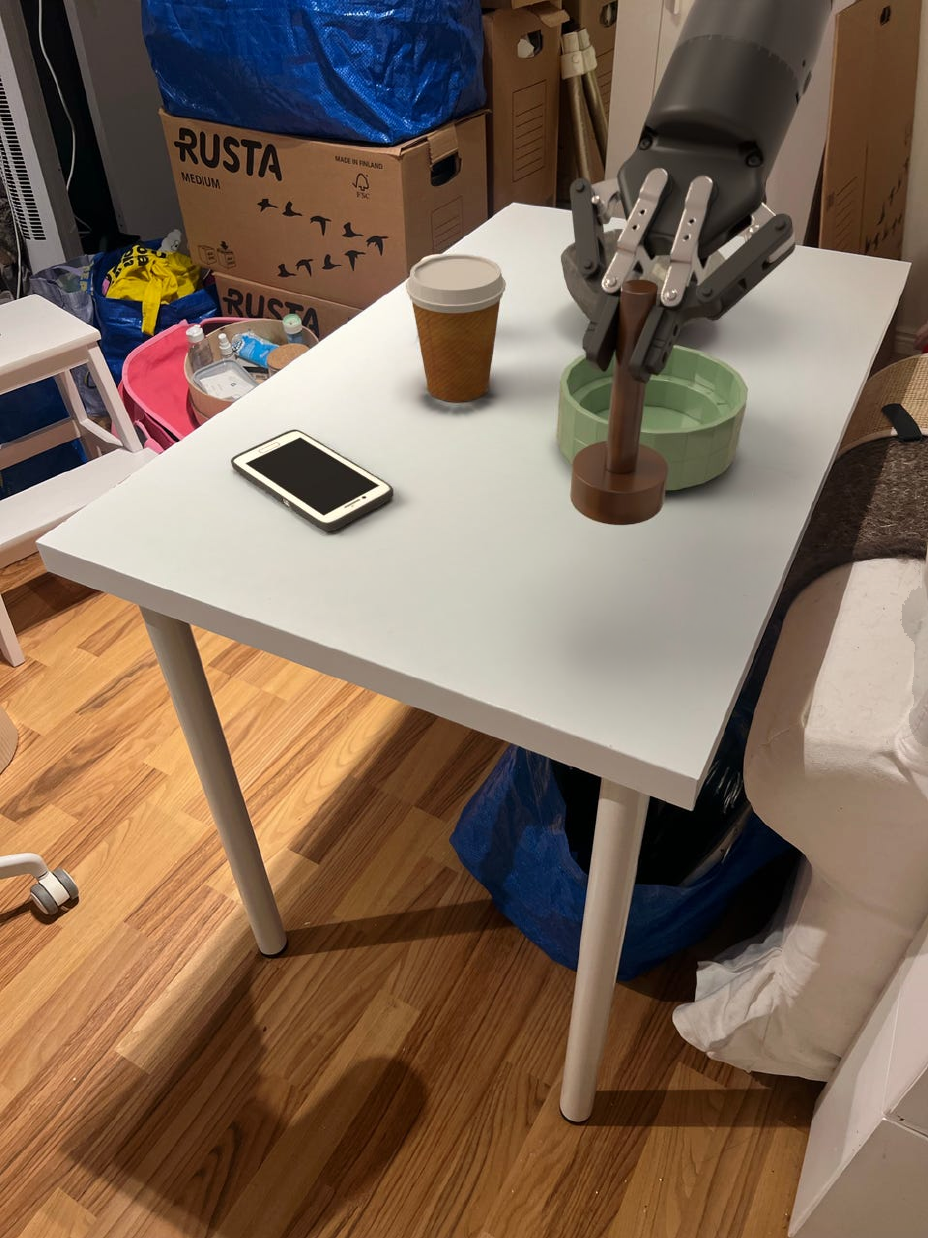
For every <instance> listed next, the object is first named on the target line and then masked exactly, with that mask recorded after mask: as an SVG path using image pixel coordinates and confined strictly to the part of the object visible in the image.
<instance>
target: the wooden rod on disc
mask: <svg viewBox="0 0 928 1238" xmlns="http://www.w3.org/2000/svg"><path fill="white" fill-rule="evenodd" d="M657 296H658V285H657V284H656V283H654V282H652V281H648V280H641V279H635V280H629V281H626V282H624V283H623V284H622V286H621V296H620V306H619V317H618V327H617V338H616V348H615V358H614V369H613V379H612V390H611V400H610V410H609V421H608V431H607V441H602V442H598V443H594V444H591V445H589V446H587V447H585V448H583V449H582V450H580V451H579V452H578V453H577V454H576V456H575V457H574V460H573V463H572V464H571V478H570V479H571V480H570V493H569V494H570V495H569V496H570V502H571V504H572V505H573V507H574V509H575V510H576V511H578V513H580V514H581V515H583V516H584V517H585V518H587V519H589V520H591V521H594V522H597V523H600V524H605V525H609V526H610V525H611V526H630V525H632V526H633V525H638V524H641V523H644V522H647V521H649V520H651V519H653V518H654V517H656V515H658V514H659V513H660V511H661V510H662V509H663V506H664V504H665V503H664V502H665V496H666V491H667V490H666V484H667V477H668V464H667V462H666V460H665V459H664V457H663V456H662V455H661V454H659V453H658V452H657V451H655V450H654V449H652V448H650V447H648V446H645V445H642V444H639V441H640V433H641V425H642V417H643V409H644V401H645V393H646V384H647V383H646V384H645V383H642V382H638V381H634V379H633V378H632V376H631V375H630V374H629V372H628V366H629V362H630V360H631V357H632V355H633V352H634V350H635V347H636V345H637V342H638V340H639V337H640V335H641V332H642V330H643V328H644V325H645V323H646V320H647V318H648V315H649V313H650V310H651V308H652V305H654V306H656V304H657Z"/></svg>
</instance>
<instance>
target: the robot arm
mask: <svg viewBox="0 0 928 1238" xmlns="http://www.w3.org/2000/svg"><path fill="white" fill-rule="evenodd" d="M836 1H837V0H694V1H693V3H692V6H691V7H690V9H689V11H688V14H687V16H686V18H685V20H684V22H683V25H682V28H681V30H680V32H679V35H678V38H677V41H676V43H675V46H674V48H673V51H672V52H671V56H670V58H669V60H668V62H667V65H666V68H665V70H664V73H663V75H662V78H661V81H660V82H659V86H658V88H657V90H656V93H655V95H654V98H653V100H652V102H651V105H650V107H649V110H648V113H647V115H646V117H645V121H644V122H643V125H642V129H641V131H640V136H639V139H638V143H637V146H636V148H635V150H634V151H633V153H632V154H631V156H629V157H628V158H627V160H625V161H624V162H623V163H622V164H621V166H620V168H619V169H618V172H617V174H616V176H614V177H611V178H607V179H604V180H602V181H599V182H595V183H592V184H591V182H590V181H589V179H588V178H587V177H578V178H576V179H574V181H572V183H571V184H570V186H569V195H570V196H569V198H570V204H571V205H570V206H571V216H572V226H573V235H574V237H573V238H574V242H575V247H576V257H577V267H578V271H579V272H580V274H581V275H582V277H583V279H584V280H585V282H586V283H587V285H588V286H589V288H590V290H591V291H592V292H594V293H597V294H599V299H598V302H597V304H596V307H595V309H594V312H593V314H592V317H591V319H589V323H588V324H587V327H586V330H585V331H584V334H583V337H582V341H581V342H582V345H581V349H582V350H583V351H584V353H585V354H586V361H587V362H588V363H589V365H590V366H591V367H592V369H595V370H598V371H602V372H606V370H607V369H608V367H609V365H610V362H611V360H612V357H613V355H614V352H615V348H616V338H617V327H618V317H619V306H620V296H621V286H622V284H623V283H624V282H626V281H629V280H635V279H641V280H644V278H645V277H648V276H649V275H650V274H651V272H652V270H653V268H654V266H655V264H656V262H657V260H658V258H659V256H663V255H670V266H669V270H668V273H667V276H666V279H665V282H664V286H663V289H662V292H661V296H660V299H661V301H660V303H659V306H654V305H652V308H651V310H650V313H649V315H648V318H647V320H646V323H645V325H644V328H643V330H642V332H641V335H640V337H639V340H638V342H637V345H636V347H635V350H634V352H633V355H632V357H631V360H630V362H629V366H628V372H629V374H630V375H631V376H632V378H633V379H634V381H638V382H642V383H645V384H646V383H648V381H649V380H650V378H651V375H652V374H653V375H656V376H658V375H659V374H660V373H661V372H662V371H663V369H664V368H665V366H666V363H667V361H668V358H669V356H670V354H671V351H672V349H673V346H674V345H676V344H675V343H676V341H677V339H678V336H679V334H680V331H681V329H682V328H683V327H684V326H683V324H684V323H685V322H687V321H688V320H690V319H694V318H699V319H701V318H703V319H704V318H705V319H706V320H707V321H711V322H714V321H715V322H716V321H718V320H720V319H721V318H722V317H723V316H725V315H726V314H727V313H728V312H729V311H730V310H731V309H732V308H733V307H735V305H737V304H738V303H739V302H740V301H741V300H742V299H744V297H745V296H747V295H748V294H749V293H750V292H751V291H752V290H753V289H755V287H757V285H759V284H760V283H761V282H762V281H763V280H764V279H765V278H766V277H768V276H769V275H770V274H771V273H772V272H774V270H776V268H777V267H779V266H780V265H781V264H783V262H784V261H785V260H786V259H788V257H790V256H791V255H792V254H793V253H794V251H795V249H796V247H797V246H796V234H795V228H794V224H793V220H792V217H791V216H789V215H788V214H786V213H776V212H775V211H774V210H773V209H772V208H770V206H768V204H767V202H768V199H767V192H766V189H767V188H766V187H767V182H768V180H769V177H770V176H771V173H772V171H773V168H774V165H775V163H776V160H777V158H778V155H779V153H780V151H781V148H782V146H783V144H784V142H785V138H786V136H787V134H788V131H789V129H790V127H791V124H792V122H793V119H794V117H795V114H796V113H797V110H798V107H799V105H800V103H801V99H802V98H803V96H805V94H806V93H807V91H808V88H809V86H810V83H811V80H812V77H813V70H814V69H815V66H816V63H817V60H818V58H819V55H820V52H821V48H822V43H823V39H824V36H825V32H826V28H827V25H828V22H829V20H830V16H831V13H832V11H833V9H834V6H835V5H836ZM618 202H621V206H622V210H623V215H624V217H625V221H626V222H625V225H624V226H623V227H622V229H623V230H622V232H621V234H620V236H619V238H618V241H617V246H616V248H617V249H616V253H615V255H614V257H613V259H612V261H611V263H610V265H609V267H608V264H607V255H606V246H605V236H604V233H605V227H604V225H608V224H610V221H611V220H612V218H613V215H614V208H615V206H616V205H617V204H618ZM746 229H747V230H746ZM745 230H746V232H745V233H744V239H743V240H744V243H743V244H741V246H739V248H737V249H736V250H735V251H734V252H733V253H732V254H731V255H730V256H729V257H728V258H727V259H726V261H724V262H723V263H722V264H721V265H720V266H719V267H718V268H717V269H716V270H715V271H714V272H713V273H711V274H710V275H709V276H708V277H707V278H706V279H705V276H706V272H707V269H708V266H709V263H710V260H711V256H712V254H713V253H714V252H716V251H717V250H718V251H719V250H720V249H721V248H723V247H724V246H725V245H727V244H728V243H729V242H730V241H732V240H733V239H735V238H736V237H737V236H739V235H740V234H741V233H743V232H744V231H745ZM704 279H705V280H704ZM682 326H683V327H682Z"/></svg>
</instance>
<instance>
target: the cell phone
mask: <svg viewBox="0 0 928 1238" xmlns="http://www.w3.org/2000/svg"><path fill="white" fill-rule="evenodd" d="M230 463H231V464H230V465H231V468H232V469H233V470H234V471H236V472H237V473H238V474H240V475H241V476H242V477H244V478H245V479H247V480H249V481H250V482H252V483H253V484H255V485H256V486H257V487H259V488H261V489H262V490H263V491H265V492H266V493H267V494H269V495H270V496H272V497H273V498H275V499H277V500H278V501H279V502H281V503H283V504H284V505H286V506H287V507H289V508H290V510H292V511H293V512H295V513H297V514H298V515H299V516H301V517H303V518H304V519H305V520H307V521H308V522H310V523H311V524H313V525H314V526H316V527H317V528H318V529H320V530H323V531H325V532H333V531H336V530H339V529H340V528H342V527H343V526H345V525H347V524H349V523H352V522H353V521H355V520H356V519H358V518H360V517H362V516H364V515H365V514H367V513H369V512H371V511H372V510H375V509H377V508H378V507H380V506H382V505H384V504H385V503H387V502H389V501H390V500H392V498H393V497H394V488H393V487H392V485H390V484H389V483H388V482H386V481H385V480H384V479H383V478H380V477H378V476H377V475H375V474H374V473H372V472H370V471H369V470H367V469H366V468H364V467H362V466H361V465H359V464H357V463H355V462H354V461H352V460H350V459H348V458H347V457H345V456H344V455H342V454H340V453H339V452H337V451H335V450H334V449H332V448H330V447H328V446H327V445H325V444H324V443H322V442H320V441H319V440H317V439H315V438H314V437H312V436H310V435H309V434H307V433H306V432H303V431H301V430H299V429H294V428H293V429H290V430H287V431H285V432H282V433H281V434H278V435H276V436H274V437H272V438H270V439H268V440H265V441H263V442H261V443H259V444H257V445H255V446H252V447H250V448H248V449H246V450H243V451H242V452H239V453H238V454H235V455H234V456H233V457H232V458H231V459H230Z"/></svg>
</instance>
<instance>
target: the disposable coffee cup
mask: <svg viewBox="0 0 928 1238" xmlns="http://www.w3.org/2000/svg"><path fill="white" fill-rule="evenodd" d="M506 287H507V282H506V279H505V278H504V277H503V274H502V269H501V268H500V266H499V264H498V263H496V262H494V261H493V260H492V259H489V258H486V257H484V256H479V255H474V254H465V253H462V254H461V253H450V254H445V255H440V256H436V257H432V258H428V259H425V260H423V261H421V260H420V261H419V262H417V263H416V264H414V265H413V266H412V267H411V269H410V272H409V277H408V280H407V281H406V283H405V290H406V294H407V295H408V297H409V300H410V301H411V303H412V309H413V314H414V315H413V316H414V320H415V325H416V330H417V336H418V340H419V341H418V342H419V348H420V353H421V357H422V364H423V370H424V375H425V380H426V386H427V390H428V392H429V394H430V395H432V397H434V398H436V399H439V400H442V401H446V402H452V403H454V402H456V403H458V402H469V401H472V400H476V399H478V398H481V397H483V396H484V395H486V393H487V392H488V390H489V387H490V378H491V371H492V363H493V355H494V347H495V341H496V335H497V334H496V333H497V325H498V319H499V312H500V304H501V299H502V297H503V295H504V292H505V291H506Z"/></svg>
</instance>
